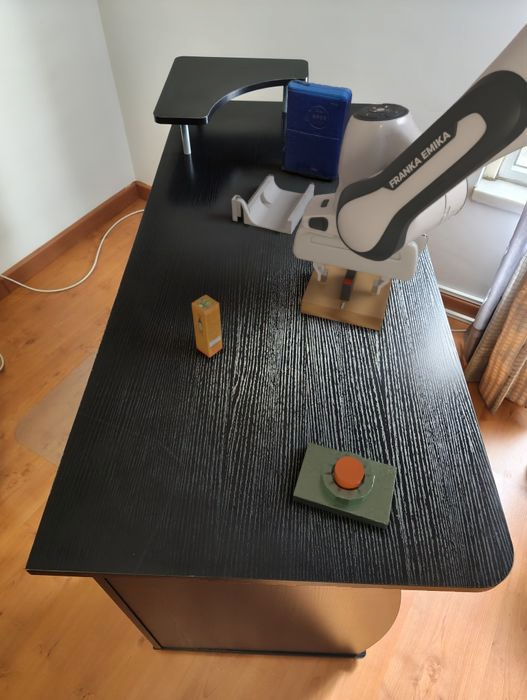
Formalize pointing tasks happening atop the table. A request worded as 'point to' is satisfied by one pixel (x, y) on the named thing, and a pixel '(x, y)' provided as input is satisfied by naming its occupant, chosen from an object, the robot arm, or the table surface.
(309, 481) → the button box
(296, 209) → the white curved channel piece
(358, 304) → the control panel
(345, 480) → the button
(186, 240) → the table surface
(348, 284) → the dark grey block
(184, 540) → the table surface
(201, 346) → the supplement box
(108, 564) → the table surface
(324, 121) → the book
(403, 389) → the table surface
